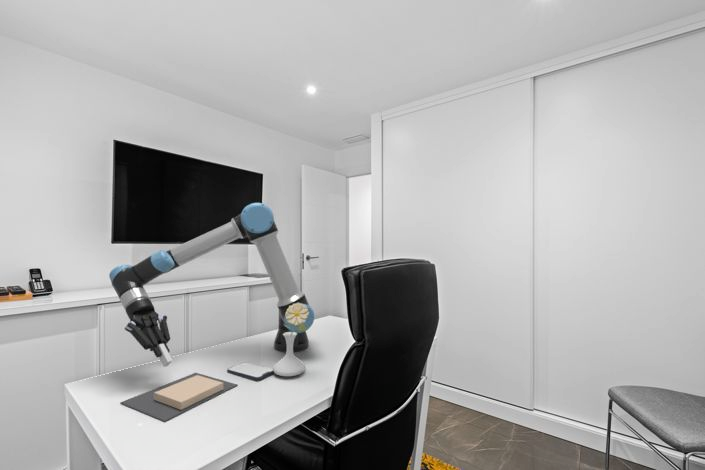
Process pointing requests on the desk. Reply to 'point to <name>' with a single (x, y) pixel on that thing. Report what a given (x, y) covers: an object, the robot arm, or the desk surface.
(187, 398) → the tile
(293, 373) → the flower in vase
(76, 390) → the desk surface
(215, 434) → the desk surface
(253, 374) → the smartphone
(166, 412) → the mat
